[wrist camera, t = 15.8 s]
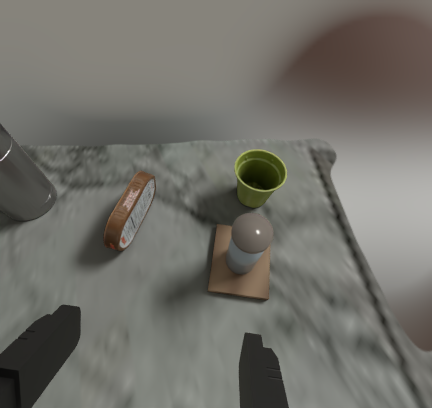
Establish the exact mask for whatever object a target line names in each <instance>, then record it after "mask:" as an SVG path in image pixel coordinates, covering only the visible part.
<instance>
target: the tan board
mask: <svg viewBox="0 0 432 408" xmlns="http://www.w3.org/2000/svg"><path fill="white" fill-rule="evenodd" d="M231 230H232V226H227V225H220V224H217V229H216V236H215V243H214V250H213V257H212V264H211V271H210V278H209V285H208V292H215V293H222V294H228V295H235V296H242V297H248V298H255V299H262V300H268V299H269V275H270V245H269V247H268V248H267V249H266V250H265V251H264V252H263V253H262V255H261V257H260V258H259V260H258V261H257V263H256V265H255V266H254V268H253V269H252V270H251V271H250V272H249V273H247V274H236V273H234V272H232V271H231V270H230V269H229V268H228V266H227V264H226V254H227V250H228V246H229V243H230V239H231Z"/></svg>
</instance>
